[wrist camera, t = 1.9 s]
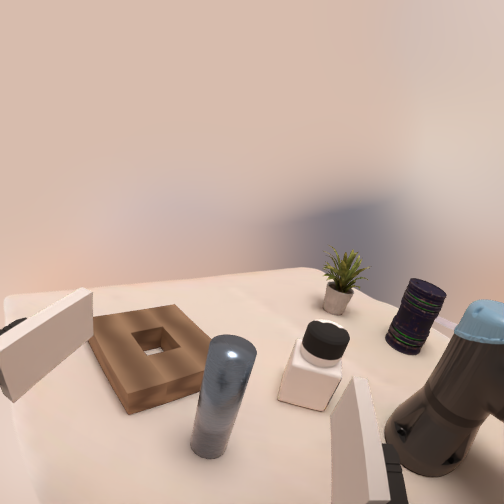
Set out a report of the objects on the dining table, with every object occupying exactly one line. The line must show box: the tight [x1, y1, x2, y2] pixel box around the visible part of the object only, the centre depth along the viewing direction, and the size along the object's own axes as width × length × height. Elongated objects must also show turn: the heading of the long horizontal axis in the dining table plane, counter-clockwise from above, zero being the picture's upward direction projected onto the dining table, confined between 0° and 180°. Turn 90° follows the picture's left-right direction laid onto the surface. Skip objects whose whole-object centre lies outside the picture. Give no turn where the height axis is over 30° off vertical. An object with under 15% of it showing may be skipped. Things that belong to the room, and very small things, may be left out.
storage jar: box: [385, 278, 446, 355], centre depth 59 cm, size 10×10×15 cm
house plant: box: [323, 247, 368, 315], centre depth 71 cm, size 14×14×16 cm
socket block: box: [88, 304, 212, 415], centre depth 39 cm, size 16×16×4 cm
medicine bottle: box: [278, 319, 350, 411], centre depth 39 cm, size 7×7×12 cm
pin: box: [191, 335, 257, 459], centre depth 26 cm, size 4×4×15 cm
